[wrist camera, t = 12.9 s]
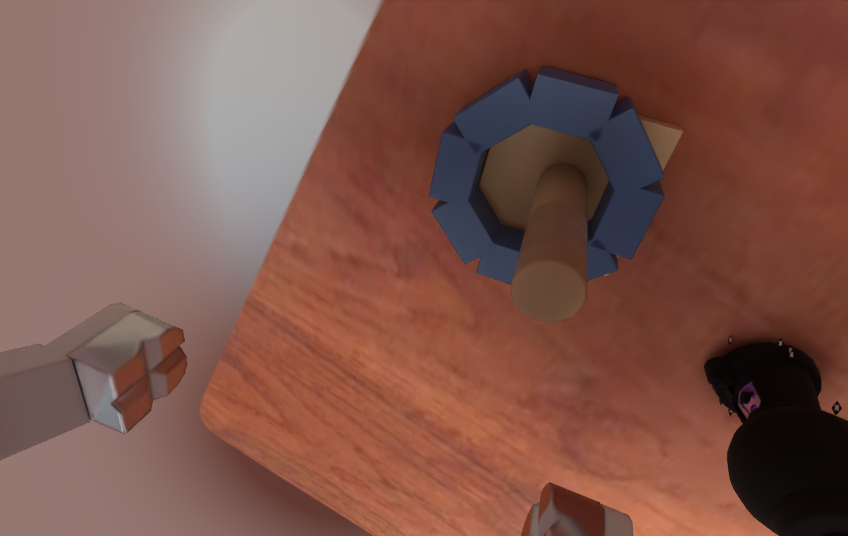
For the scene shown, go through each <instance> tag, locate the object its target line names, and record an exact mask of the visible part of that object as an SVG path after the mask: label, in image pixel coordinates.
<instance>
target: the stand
mask: <svg viewBox="0 0 848 536" xmlns="http://www.w3.org/2000/svg"><path fill="white" fill-rule="evenodd" d="M533 86H534V85H533ZM638 116H639V118H640V120H641V122H642V124H643V127H644V129H645V131H646V133H647V136H648V138H649V140H650V142H651V145H652V147H653V149H654V151H655V153H656V156H657V158H658V160H659V163H660V165H661V167H662V170H664V168H665V166H666V164H667V162H668V161H669V159H670V157H671V155H672V153H673V151H674V149H675V147H676V145H677V143H678V141H679V140H680V138H681V136H682V134H683V130H682V129H681V127H680V126H677V125H674V124H670V123H667V122H663V121H660V120H656V119H652V118H649V117H645V116H642V115H638ZM608 181H609V179H608V177H607V175H606V172H605V170H604V168H603V166H602V164H601V162H600V160H599V158H598V156H597V154H596V152H595V150H594V148H593V146H592V144H591V142H590V140H587V139H583V138H580V137H576V136H572V135H569V134H565V133H561V132H558V131H554V130H551V129H547V128H543V127H540V126H536V125H533V124H532V125H530V126H528V127H526V128H524V129H523V130H521V131H519V132H517V133H515V134H514V135H512V136H510V137H508V138H506V139H505V140H503V141H501V142H499V143H497V144H496V145H494V146H492V147H490V149H489V152H488V156H487V159H486V162H485V166H484V169H483V173H482V176H481V179H480V183H479V187H480V189H481V191H482V192H483V194H484V196H485V197H486V199H487V201H488V203H489V204H490V206H491V208H492V209H493V211H494V213H495V215H496V216H497V218H498V220H499V221H500V223H501V224H503V225H506V226H509V227H512V228H515V229H519V230H522V231H525V233H524V237H523V240H522V244H521V248H520V252H519V256H518V260H517V263H516V267H515V271H514V275H513V279H512V283H511V295H512V298H513V300H514V302H515V304H516V306H517V307H518V308H519V309H520V310H521V311H522V312H523V313H524V314H525V315H527V316H529V317H530V318H533V319H535V320H538V321H542V322H560V321H564V320H567V319H569V318H571V317H573V316H574V315H576V314H577V313H578V312H579V311H580V310H581V309H582V307H583V306H584V304H585V302H586V299H587V221H589V220H591V219H592V218H593V215H594V213H595V211H596V209H597V206H598V204H599V202H600V199H601V197H602V195H603V193H604V190H605V188H606V186H607V184H608ZM617 258H618V255H617ZM608 275H609V274H606V275H604V276H608Z"/></svg>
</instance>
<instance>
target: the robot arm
mask: <svg viewBox="0 0 848 536" xmlns="http://www.w3.org/2000/svg"><path fill="white" fill-rule="evenodd" d="M184 341H185V339H184V334H183V330H182V329H180V328H178V327H175V326H173V325H171V324H169V323H166V322H164V321H162V320H160V319H157V318H155V317H153V316H150V315H148V314H146V313H144V312H142V311H139V310H137V309H135V308H133V307H130V306H128V305H126V304H123V303H115V304H111V305H109V306H107V307H106V308H104V309H103V310H101V311H100V312H98V313H96V314H95V315H93V316H92V317H90V318H88V319H87V320H85V321H84V322H82V323H81V324H79V325H77V326H76V327H74V328H72V329H71V330H69V331H68V332H66V333H64V334H63V335H61V336H60V337H58V338H57V339H55V340H53V341H52V342H50V343H49V344H47V345H46V346H43V345H40V344H35V345H31V346H26V347H22V348H18V349H13V350H9V351H5V352H0V460H2V459H4V458H7V457H9V456H11V455H14V454H16V453H18V452H20V451H23V450H25V449H28V448H30V447H32V446H35V445H37V444H39V443H42V442H44V441H47V440H49V439H51V438H53V437H56V436H58V435H61V434H63V433H65V432H68V431H70V430H72V429H75V428H77V427H79V426H82V425H84V424H86V423H89V422H90V420H93V421H95V422H97V423H100V424H102V425H104V426H106V427H109V428H111V429H113V430H116V431H118V432H120V433H123V434H126V433H127V432H129V431H130V430H131V429H132V428H133V427H134V426H135V425H136V424H137V423H138V422H139V421H140V420H141V419H143V418H144V417H145V416H146V415H147V414H148V413H149V412H150V411H151V408H152V403H153V400H156V399H159V398H162V397H165V396H167V395H169V394H170V393H171V392H172V391H173V390H174V389H175V388H176V387H177V386H178V384H179V382H180V381H181V379H182V378H183V376H184V374H185V371H186V367H187V357H186V355H185V353H184V352H183V350H182V349H181V347H180V345H181V344H182V343H183V342H184ZM521 536H633V525H632V521H631V518H630V516H629V515H627V514H625V513H622V512H620V511H617V510H615V509H613V508H610V507H608V506H605V505H603V504H600V502H597V501H595V500H592V499H590V498H587V497H585V496H583V495H580V494H578V493H575V492H573V491H570V490H568V489H565V488H563V487H560V486H558V485H555V484H553V483H550V482H549V483H548V484H546V485H545V487H544V488H543V490H542V492H541V498H540V503H538V504H534V505H533V506H532V508H531V510H530V512H529V513H528V515H527V518H526V521H525V524H524V526H523V530H522V535H521Z"/></svg>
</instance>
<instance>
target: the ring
mask: <svg viewBox="0 0 848 536" xmlns="http://www.w3.org/2000/svg"><path fill="white" fill-rule="evenodd" d="M618 97H619V94H618V90H617V87H616V85H615V84H611V83H607V82H603V81H599V80H595V79H592V78H588V77H584V76H580V75H576V74H572V73H568V72H564V71H561V70H557V69H553V68H549V67H545V66H542V67H541V69H540V71H539V72H538V74H537V77H536V80H535V83H534V86H533V84H532V82H531V80H530V78H529V76H528V74H527V72H526V70H522V71H520V72H519V73H517V74H516V75H514V76H512V77H511V78H509V79H508V80H506V81H504V82H503V83H501V84H500V85H498V86H496V87H495V88H493V89H492V90H490V91H488V92H487V93H485V94H483V95H482V96H480V97H479V98H477V99H475V100H474V101H472V102H471V103H469V104H467V105H466V106H464V107H463V108H462V109H461V110H460V111H459V112H458V113H457V114H456V115H455V116H454V117H453V120H454V122H453V123H452V124H451V125H450V126H449V127H448V128H446V129H445V130H444V131H443V133H442V137H441V141H440V146H439V151H438V155H437V160H436V165H435V169H434V174H433V178H432V183H431V188H430V192H429V196H430V197H432V198H435V199H438V200H439V201H438V203H437V204H436V206H435V207H434V208H433V210H432V213H433V215H434V216H435V218H436V220H437V221H438V223H439V224H440V226H441V227H442V229H443V231H444V232H445V234H446V235H447V237H448V239H449V240H450V242H451V243H452V245H453V246H454V248H455V250H456V251H457V253H458V254H459V256H460V258H461V259H462V261H463V262H464V264H466V263H468V262H471V261H473V260H475V259H478V258H480V257H481V259H480V262H479V265H478V268H477V272H476V273H478V274H481V275H484V276H487V277H490V278H493V279H496V280H499V281H502V282H505V283H508V284H511V283H512V279H513V275H514V271H515V267H516V263H517V260H518V256H519V252H520V248H521V244H522V240H523V237H524V233H525V231H522V230H519V229H515V228H512V227H509V226H506V225H503V224H501V223H500V221H499V220H498V218H497V216H496V215H495V213H494V211H493V209H492V208H491V206H490V204H489V203H488V201H487V199H486V197H485V196H484V194H483V192H482V191H481V189H480V187H479V185H478V183H479V180H480V176H481V173H482V169H483V165H484V162H485V158H486V154H487V151H488V148H490V147H492V146H494V145H496V144H497V143H499V142H501V141H503V140H505V139H506V138H508V137H510V136H512V135H514V134H515V133H517V132H519V131H521V130H523V129H524V128H526V127H528V126H530V125H532V124H533V125H536V126H540V127H543V128H547V129H551V130H554V131H558V132H561V133H565V134H569V135H572V136H576V137H580V138H583V139H587V140H590V142H591V144H592V146H593V148H594V150H595V152H596V154H597V156H598V158H599V160H600V162H601V164H602V166H603V168H604V170H605V172H606V175H607V177H608V179H609V181H608V184H607V186H606V188H605V190H604V193H603V195H602V197H601V199H600V202H599V204H598V206H597V209H596V211H595V213H594V215H593V218H592V219H591V220H589V221H587V281H589V280H592V279H594V278H597V277H600V276H603V275H606V274H609V273H611V272H614V271H617V270H618V263H617V255H618V256H621V257H625V258H628V259H632V258H633V256H634V254H635V252H636V250H637V248H638V246H639V244H640V242H641V240H642V238H643V236H644V235H645V233H646V231H647V229H648V227H649V225H650V223H651V221H652V219H653V217H654V215H655V213H656V212H657V210H658V208H659V206H660V204H661V202H662V200H663V198H664V193H663V190H662V187H661V185H660V182H659V180H661V179H664V178H665V174H664V172H663V170H662V167H661V165H660V163H659V160H658V158H657V156H656V153H655V151H654V149H653V147H652V145H651V142H650V140H649V138H648V136H647V133H646V131H645V129H644V127H643V124H642V122H641V120H640V118H639V116H638V113H637V111H636V109H635V107H634V104H633V102H632V100H631V98H630V97H627V98H625V99H623V100H621V101H619V102H618V103H616V101H617V99H618Z"/></svg>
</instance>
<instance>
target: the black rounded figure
mask: <svg viewBox="0 0 848 536" xmlns="http://www.w3.org/2000/svg"><path fill="white" fill-rule="evenodd" d="M732 340H733V339H732V336H730V338H729V339H728V342H729V345H730V343H731V342H732ZM783 344H784V343H783V341H782V339H780V340H779V342H778V343H777V344H775V343H759V344H751V345H747V346H744V347H741V348H738V349H735V350H733V351H732V352H730V353H729V354H727V355H726V356H724V357H715V358H712V359H710V360H708V361H707V362H706V363H705V366H704V368H705V373H706V376H707V380H708V381H709V383H710V384H712V387H713V389H714V391H715V392H716V394H717V395H718V397H719V398H720V399H719V400H720V403H721V405H722V403H723V404H724V405H725V406H726V407H728V408H729V409H728V411H729V414H730V416H731V415H732V413H733V412H735V413H737V415H738V417H739V418H740V420H741V422H742V423H743V424H742V425H741V426H740V427H739V428H738V429H737V431H736V432H735V433H734V436H733V438H732V441H731V443H730V446H729V449H728V452H727V463H728V471H729V477H730V481H731V484H732V486H733V489H734V490H735V492H736V494H737V495H738V497H739V498H740V500H741V501H742V503H743V504H744V506H745V507H746V509H747V510H748V511H749V512H750V513H751V514H752V515H753V517H755V518H756V519H757V520H758V521H759V522H761V523H762V524H763V525H765V526H766V527H767V528H769V529H770V530H771V531H773V532H774V533H776V534H777V535H779V536H848V421H847V420H845V419H843V418H840V417H838V416H835V415H837V414H838V413H839V411H840V410H841V409H842V408H841V406H840V404H839V403H838V401H837V402H836V403H835V404H834V405H833V407H832V410H833V412H834V413H835V415H833V414H830V413H827V412H825V411H822V410H821V408H820V404H819V401H818V395H819V394H820V392H821V377H820V373H819V370H818V368H817V366H816V364H815V362H814V361H813V359H811V358H810V357H809V356H807V355H806V354H805V353H804V352H802V351H801V350H798V349H796V348H793V347H792V346H791V345H790V346H788V345H783Z"/></svg>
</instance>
